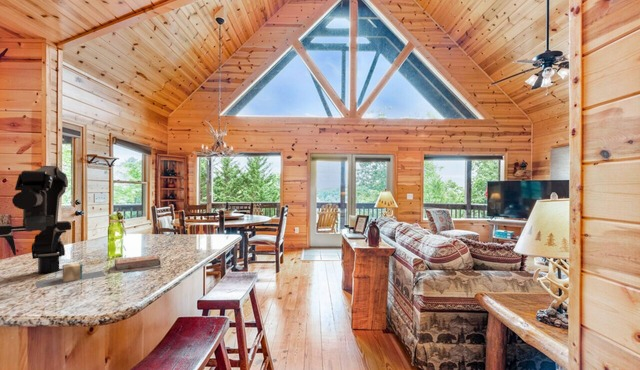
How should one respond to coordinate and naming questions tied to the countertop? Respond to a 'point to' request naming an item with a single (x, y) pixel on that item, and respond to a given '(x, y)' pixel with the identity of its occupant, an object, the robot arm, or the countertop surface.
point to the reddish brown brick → (136, 263)
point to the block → (72, 271)
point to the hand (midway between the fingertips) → (34, 252)
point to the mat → (60, 281)
